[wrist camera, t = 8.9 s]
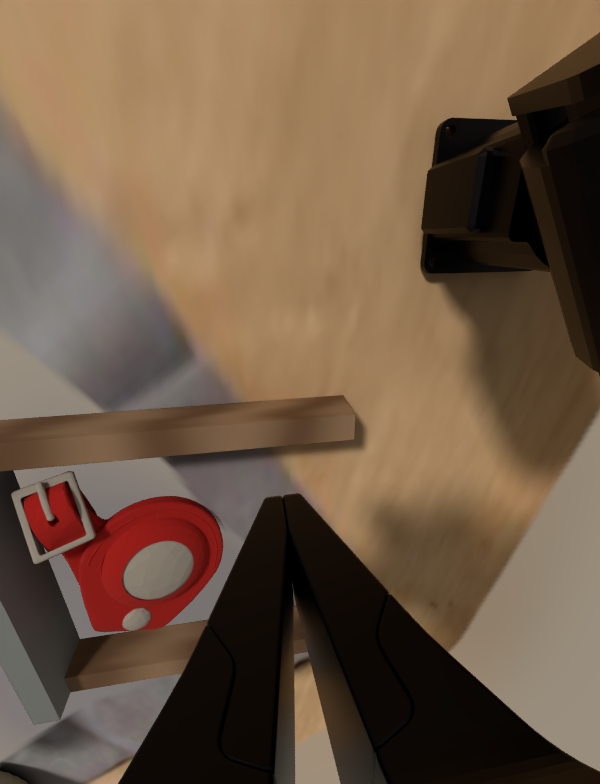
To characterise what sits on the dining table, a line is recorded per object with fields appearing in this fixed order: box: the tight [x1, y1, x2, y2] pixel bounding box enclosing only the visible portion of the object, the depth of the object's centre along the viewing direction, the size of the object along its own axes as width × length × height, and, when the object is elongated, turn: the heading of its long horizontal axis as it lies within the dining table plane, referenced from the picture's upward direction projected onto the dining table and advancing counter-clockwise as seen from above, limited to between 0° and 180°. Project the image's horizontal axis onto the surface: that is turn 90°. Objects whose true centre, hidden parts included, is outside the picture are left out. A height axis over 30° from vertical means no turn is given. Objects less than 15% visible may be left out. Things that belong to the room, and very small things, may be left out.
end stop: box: [0, 470, 80, 724], centre depth 20 cm, size 2×19×4 cm, turn 0°
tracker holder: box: [11, 471, 223, 632], centre depth 21 cm, size 12×4×10 cm
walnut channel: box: [0, 395, 356, 692], centre depth 22 cm, size 18×19×2 cm
